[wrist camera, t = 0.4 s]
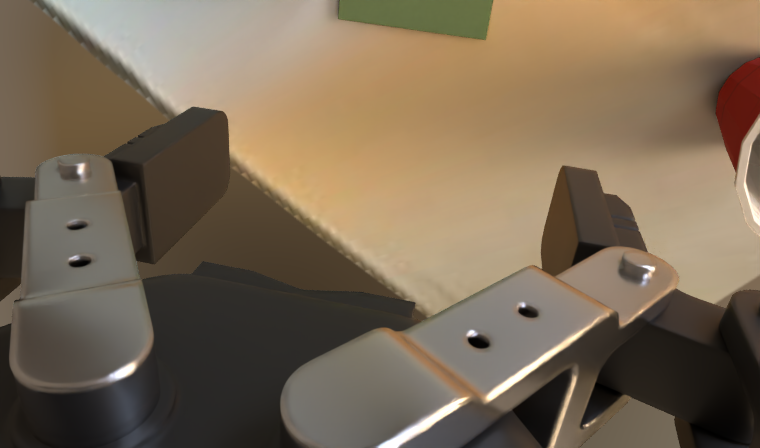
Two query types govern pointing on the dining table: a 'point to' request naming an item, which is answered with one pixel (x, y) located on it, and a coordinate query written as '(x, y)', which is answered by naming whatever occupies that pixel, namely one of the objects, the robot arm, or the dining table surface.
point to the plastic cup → (743, 135)
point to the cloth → (423, 15)
